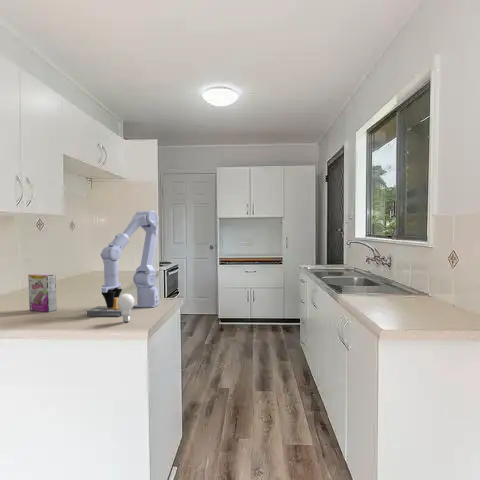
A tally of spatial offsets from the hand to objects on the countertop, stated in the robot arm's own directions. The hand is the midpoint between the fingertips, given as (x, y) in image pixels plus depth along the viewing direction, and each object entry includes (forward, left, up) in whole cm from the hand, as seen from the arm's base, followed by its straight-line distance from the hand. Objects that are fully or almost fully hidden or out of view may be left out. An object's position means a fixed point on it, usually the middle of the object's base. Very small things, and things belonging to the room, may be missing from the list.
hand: (112, 306), depth 166 cm
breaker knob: (-1, 0, -1) cm, 1 cm away
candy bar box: (+34, -4, -3) cm, 35 cm away
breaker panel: (+1, 0, -3) cm, 3 cm away
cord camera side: (0, +6, -3) cm, 7 cm away
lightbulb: (-13, +15, -3) cm, 20 cm away
